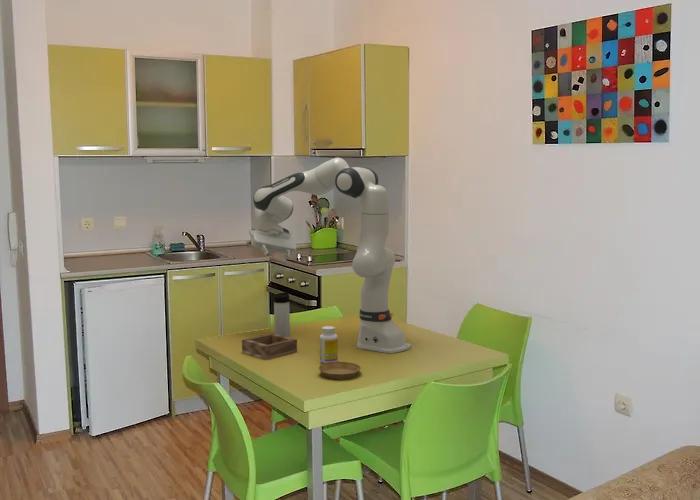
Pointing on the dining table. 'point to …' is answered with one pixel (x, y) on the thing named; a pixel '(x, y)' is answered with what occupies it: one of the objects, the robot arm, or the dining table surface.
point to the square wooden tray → (269, 346)
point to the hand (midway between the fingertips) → (277, 256)
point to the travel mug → (282, 314)
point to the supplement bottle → (328, 345)
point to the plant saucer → (339, 370)
